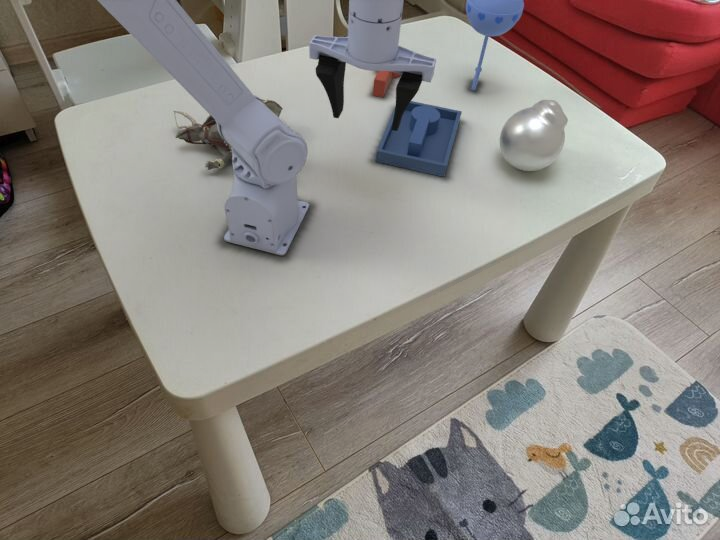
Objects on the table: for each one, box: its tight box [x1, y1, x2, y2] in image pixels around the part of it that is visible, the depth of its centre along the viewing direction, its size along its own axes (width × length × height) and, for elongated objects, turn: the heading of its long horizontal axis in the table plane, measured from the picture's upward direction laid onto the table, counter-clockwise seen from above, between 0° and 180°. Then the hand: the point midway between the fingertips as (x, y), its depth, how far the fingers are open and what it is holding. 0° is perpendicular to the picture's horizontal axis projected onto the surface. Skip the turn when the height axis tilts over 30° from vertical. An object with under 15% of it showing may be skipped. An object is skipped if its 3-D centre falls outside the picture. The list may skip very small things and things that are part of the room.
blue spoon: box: [407, 106, 440, 158], centre depth 78 cm, size 11×4×3 cm, turn 164°
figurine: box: [172, 98, 284, 171], centre depth 75 cm, size 20×6×17 cm
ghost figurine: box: [499, 99, 569, 172], centre depth 73 cm, size 9×10×10 cm
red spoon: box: [372, 71, 402, 98], centre depth 88 cm, size 11×4×3 cm, turn 164°
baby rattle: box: [465, 0, 525, 91], centre depth 83 cm, size 9×9×18 cm
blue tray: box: [375, 100, 462, 178], centre depth 78 cm, size 14×10×2 cm
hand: (366, 119), depth 66 cm, fingers open, 7 cm apart
